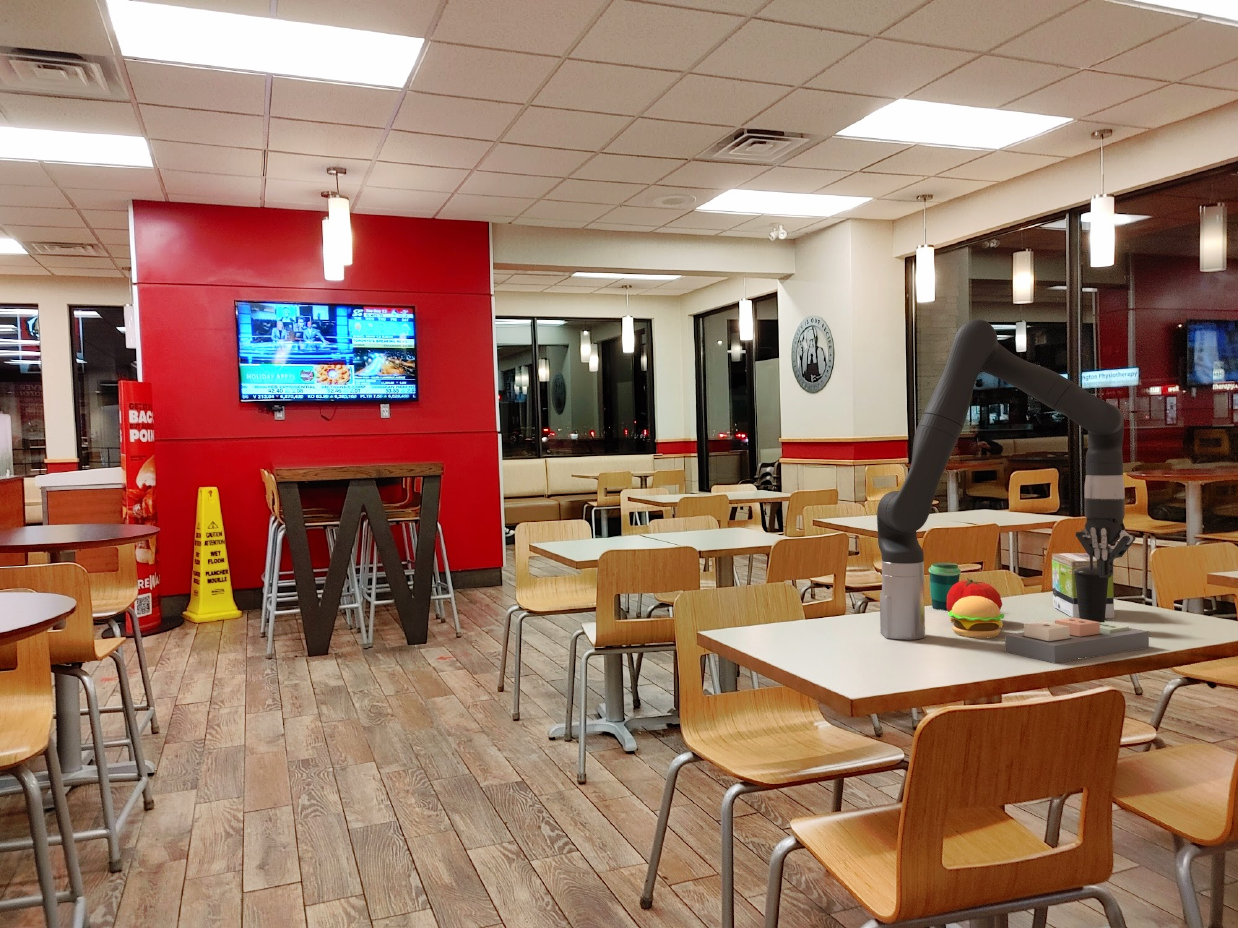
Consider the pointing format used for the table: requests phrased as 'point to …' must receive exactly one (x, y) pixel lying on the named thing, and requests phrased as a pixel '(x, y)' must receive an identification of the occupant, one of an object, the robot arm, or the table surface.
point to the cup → (942, 582)
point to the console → (1077, 645)
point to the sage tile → (1112, 628)
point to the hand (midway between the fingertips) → (1104, 577)
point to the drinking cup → (1091, 593)
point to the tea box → (1073, 583)
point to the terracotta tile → (1080, 626)
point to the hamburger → (976, 617)
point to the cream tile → (1046, 631)
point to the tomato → (972, 592)
